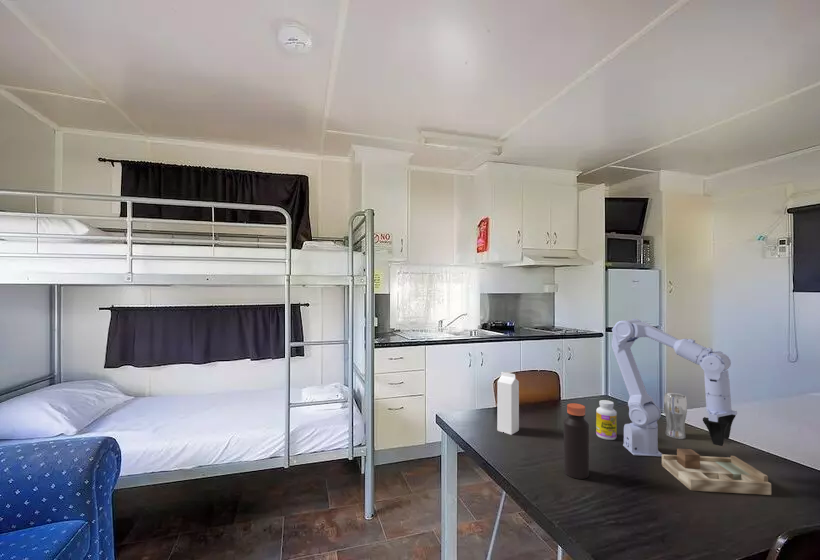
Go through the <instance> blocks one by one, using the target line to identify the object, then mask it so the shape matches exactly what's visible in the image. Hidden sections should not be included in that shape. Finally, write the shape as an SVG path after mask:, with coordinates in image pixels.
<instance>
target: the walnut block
mask: <svg viewBox="0 0 820 560" xmlns="http://www.w3.org/2000/svg"><path fill="white" fill-rule="evenodd" d="M676 455H677V462H678V463H679V464H680V465H682V466H683V467H684V468H689V469H700V456H701V455H700V454H699V453H698V452H696V451H695V450H693V449H691V448H676Z"/></svg>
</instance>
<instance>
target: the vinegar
mask: <svg viewBox="0 0 820 560" xmlns="http://www.w3.org/2000/svg"><path fill="white" fill-rule="evenodd" d="M566 410H567V411H566V414H567V417H566V418H565V419H564V420H563V471H564V474H566V475H567V476H568V477H570V478H573V479H579V480H582V479H587V478H589V475H590V445H589V444H590V441H589V440H590V435H589V434H590V429H589V428H590V425H589V423H588V421H587V420H586V419H585V417H586V406H585V405H583V404H581V403H575V402H574V403H573V402H572V403H567V405H566Z"/></svg>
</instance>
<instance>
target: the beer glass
mask: <svg viewBox="0 0 820 560" xmlns="http://www.w3.org/2000/svg"><path fill="white" fill-rule="evenodd" d="M663 399H664V400H663V407H664V408H663V409H664V415H665V420H666V429H665V435H666V436H668V437H669V438H673V439H677V440H684V439H686V437H687V436H686V431H685V426H686V425H685V424H686V420H687V415H688V404H687V403H688V402H687V401H688V400H687V395H684V394H682V393H678V392H677V393H676V392H665V393H664V397H663Z"/></svg>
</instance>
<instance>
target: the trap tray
mask: <svg viewBox="0 0 820 560" xmlns="http://www.w3.org/2000/svg"><path fill="white" fill-rule="evenodd" d="M661 466H662V467H663V468H664V469H665V470H667V471H668V472H669V473H670V474H671V475H672V476H673V477H674V478H675V479H677V481H679V482H680V483H681V484H683V485H684V486H685V487H686V488H687V489H688V490H690V491H694V492H695V491H696V492H711V493H728V494H729V493H730V494H732V493H733V494H744V495H745V494H748V495H763V496H764V495H765V496H766V495H767V496H772V482H769V476H768V475H767V474H765V473H763V472H762V471H760V470H758V469H757V468H756V467H754V466H753V465H751V464H749V463H747V462H745V461H744V460H742V459H741V458H739V457H737V456H735V455H730V457H729V456H727V457H725V456H705V455H700V469H689V468H684V467H683V466H682V465H680V464H679V463H678V462H677V454H664V453H662V457H661Z"/></svg>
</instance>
